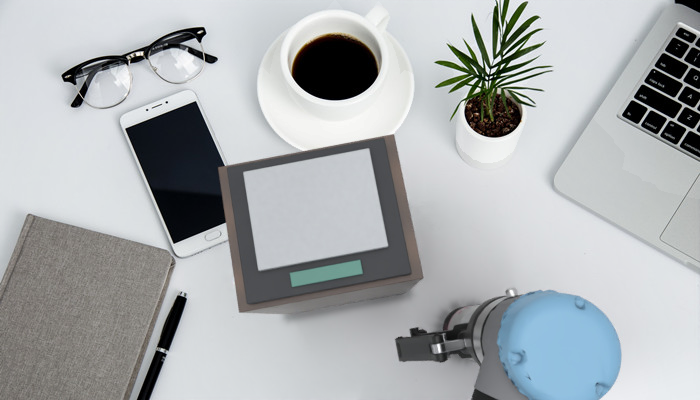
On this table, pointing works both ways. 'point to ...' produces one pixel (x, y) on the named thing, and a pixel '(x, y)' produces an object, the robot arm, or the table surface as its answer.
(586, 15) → the table surface
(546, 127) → the table surface
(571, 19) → the table surface
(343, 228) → the scale
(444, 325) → the beverage can
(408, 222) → the stand
